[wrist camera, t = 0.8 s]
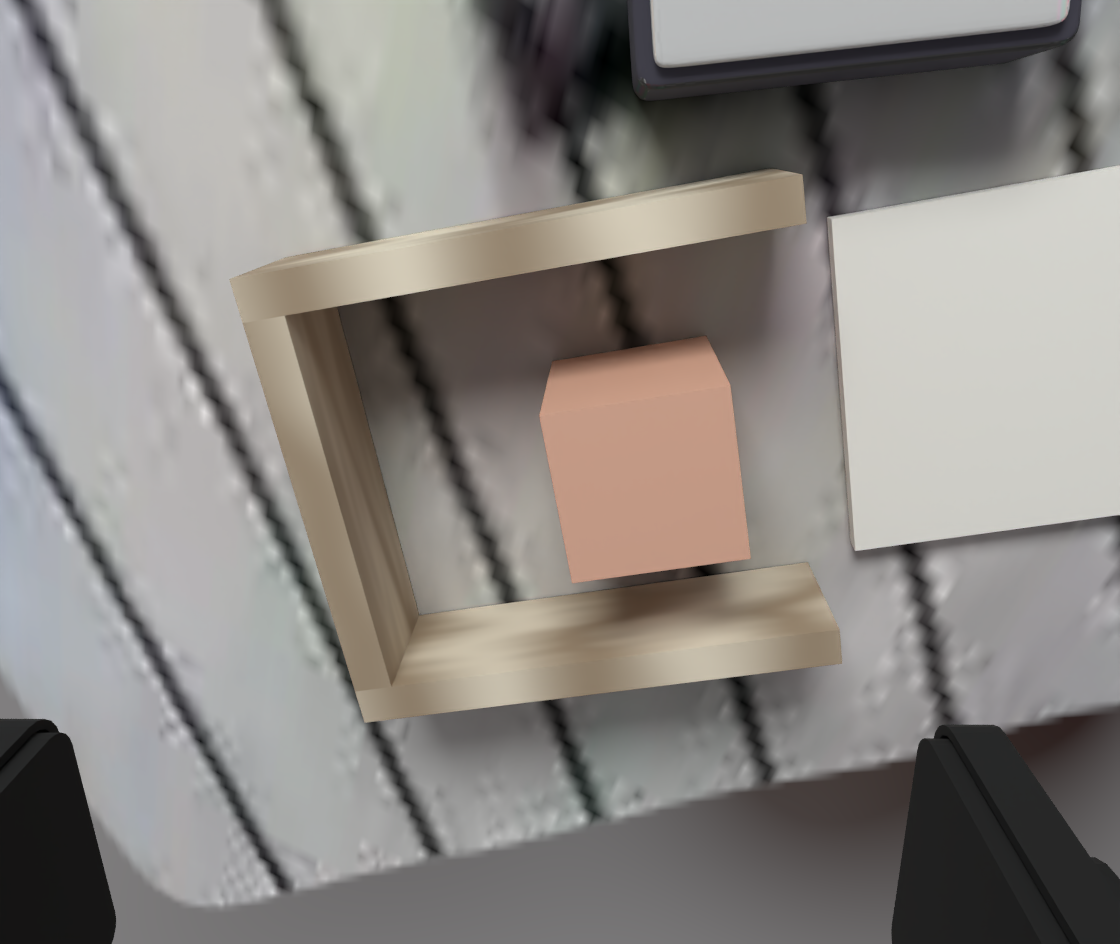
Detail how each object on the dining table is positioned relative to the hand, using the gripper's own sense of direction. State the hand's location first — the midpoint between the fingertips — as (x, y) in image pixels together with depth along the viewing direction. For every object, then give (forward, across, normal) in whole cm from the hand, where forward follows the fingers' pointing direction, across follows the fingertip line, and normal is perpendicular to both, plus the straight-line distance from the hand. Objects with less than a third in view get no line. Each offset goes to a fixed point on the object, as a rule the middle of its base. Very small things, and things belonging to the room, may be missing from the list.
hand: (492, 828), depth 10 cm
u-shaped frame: (+20, -1, +2) cm, 21 cm away
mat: (+20, -14, 0) cm, 24 cm away
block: (+20, -3, +2) cm, 21 cm away
